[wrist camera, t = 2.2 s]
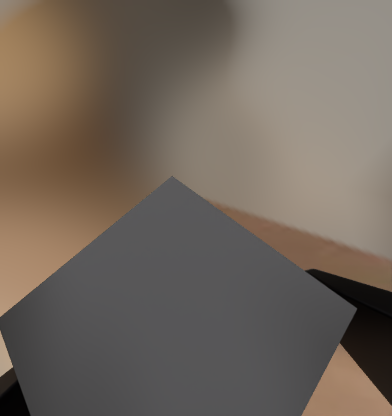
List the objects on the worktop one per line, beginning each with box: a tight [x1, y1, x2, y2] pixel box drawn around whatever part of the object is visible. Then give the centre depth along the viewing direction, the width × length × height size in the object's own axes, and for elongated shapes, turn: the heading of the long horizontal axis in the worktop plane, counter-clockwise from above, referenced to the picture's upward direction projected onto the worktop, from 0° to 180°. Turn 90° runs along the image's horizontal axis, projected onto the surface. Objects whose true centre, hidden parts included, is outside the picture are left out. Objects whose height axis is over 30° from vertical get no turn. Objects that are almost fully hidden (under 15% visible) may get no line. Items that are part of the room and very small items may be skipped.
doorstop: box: [0, 176, 357, 416], centre depth 8 cm, size 4×4×12 cm
